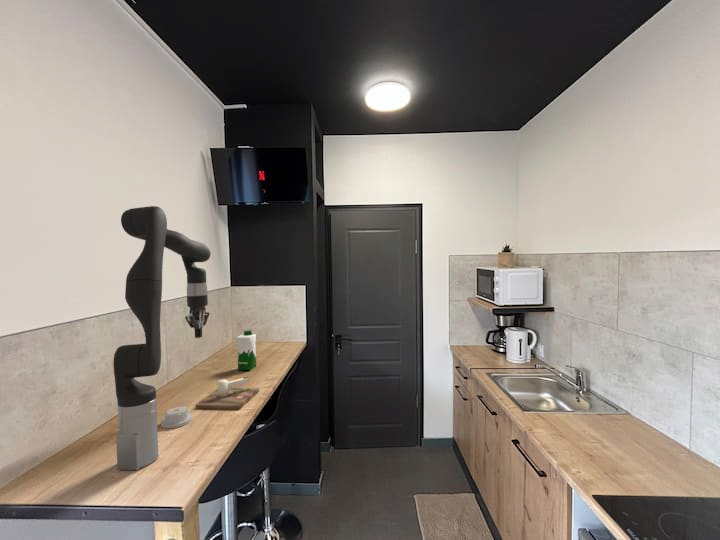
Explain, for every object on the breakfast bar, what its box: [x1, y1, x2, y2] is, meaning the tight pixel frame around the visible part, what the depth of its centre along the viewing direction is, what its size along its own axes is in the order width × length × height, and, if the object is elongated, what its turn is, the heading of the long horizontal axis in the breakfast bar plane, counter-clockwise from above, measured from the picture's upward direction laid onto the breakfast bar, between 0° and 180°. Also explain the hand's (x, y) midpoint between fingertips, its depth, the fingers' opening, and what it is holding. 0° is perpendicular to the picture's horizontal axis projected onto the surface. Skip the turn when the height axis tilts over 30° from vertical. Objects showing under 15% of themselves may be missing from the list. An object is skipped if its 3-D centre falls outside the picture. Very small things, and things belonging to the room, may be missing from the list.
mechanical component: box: [160, 405, 194, 429], centre depth 122 cm, size 10×4×10 cm
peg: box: [216, 376, 249, 397], centre depth 144 cm, size 4×13×6 cm, turn 132°
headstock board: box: [195, 387, 260, 410], centre depth 141 cm, size 18×18×2 cm
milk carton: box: [235, 329, 257, 371], centre depth 182 cm, size 9×9×20 cm
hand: (198, 337), depth 137 cm, fingers closed
